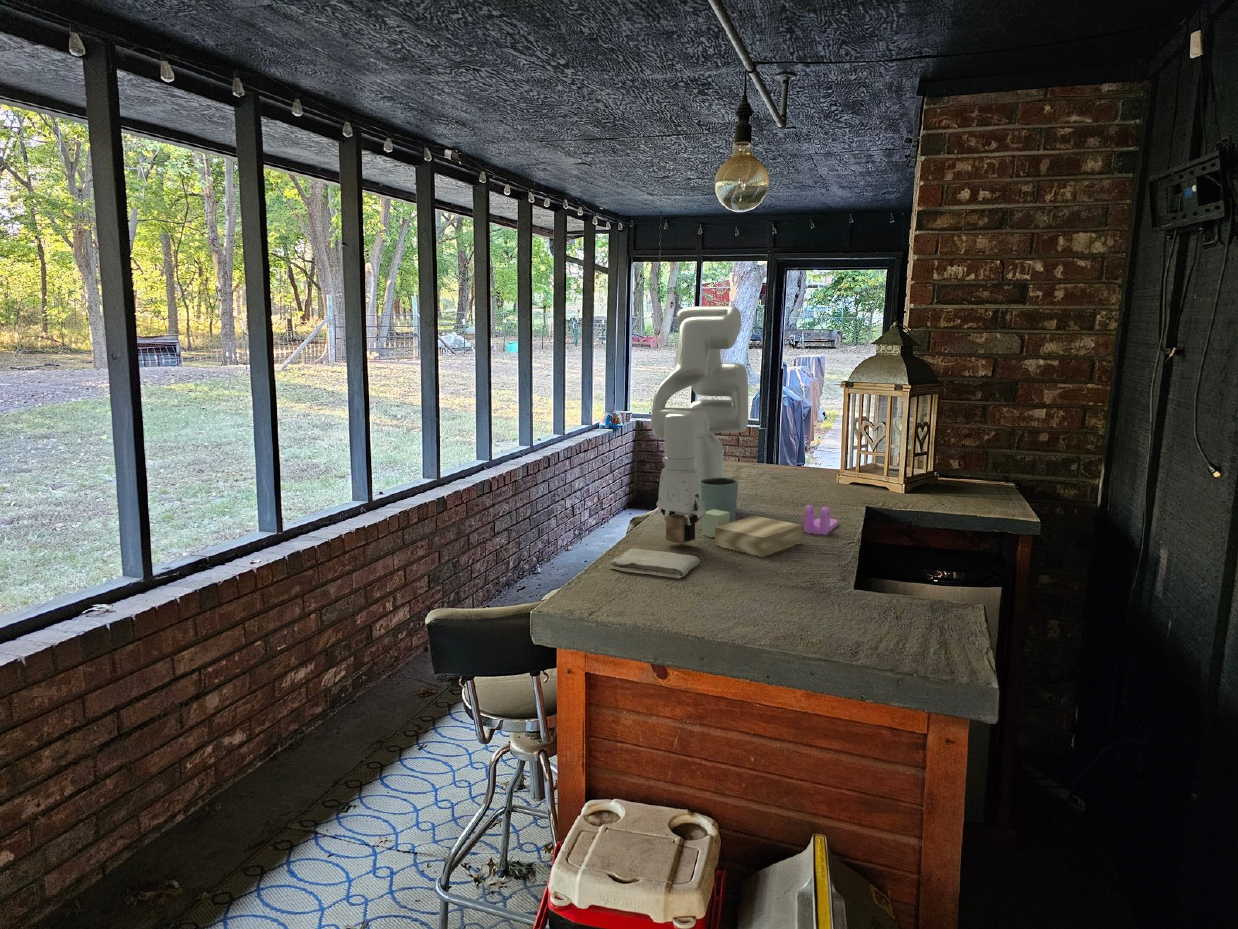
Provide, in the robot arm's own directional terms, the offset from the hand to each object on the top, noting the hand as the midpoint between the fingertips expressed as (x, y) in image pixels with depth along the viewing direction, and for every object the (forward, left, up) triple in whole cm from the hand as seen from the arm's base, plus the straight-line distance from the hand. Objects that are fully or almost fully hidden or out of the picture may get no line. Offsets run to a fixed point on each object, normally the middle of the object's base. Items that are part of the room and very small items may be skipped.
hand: (680, 537), depth 188 cm
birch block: (+13, +14, -3) cm, 19 cm away
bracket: (+17, +38, -3) cm, 41 cm away
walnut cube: (0, 0, -1) cm, 1 cm away
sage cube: (0, +14, -2) cm, 14 cm away
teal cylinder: (-6, +23, -3) cm, 24 cm away
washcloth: (+7, -17, -3) cm, 18 cm away
